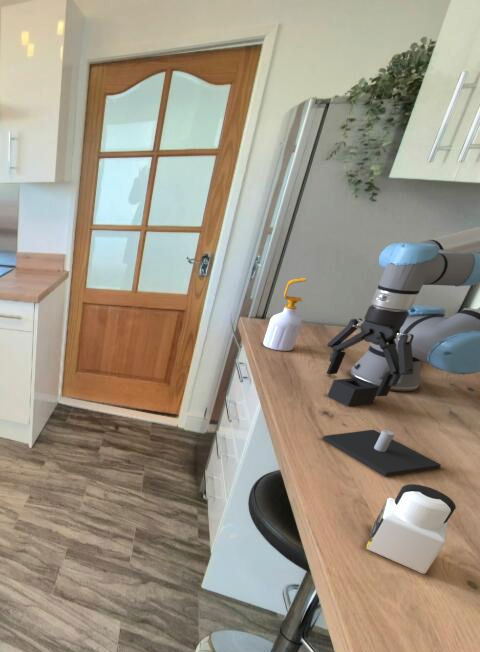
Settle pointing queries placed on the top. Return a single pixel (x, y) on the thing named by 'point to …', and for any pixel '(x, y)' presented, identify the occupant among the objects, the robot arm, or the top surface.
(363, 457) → the base pad
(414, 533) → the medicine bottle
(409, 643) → the top surface
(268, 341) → the soap bottle
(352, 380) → the socket block
